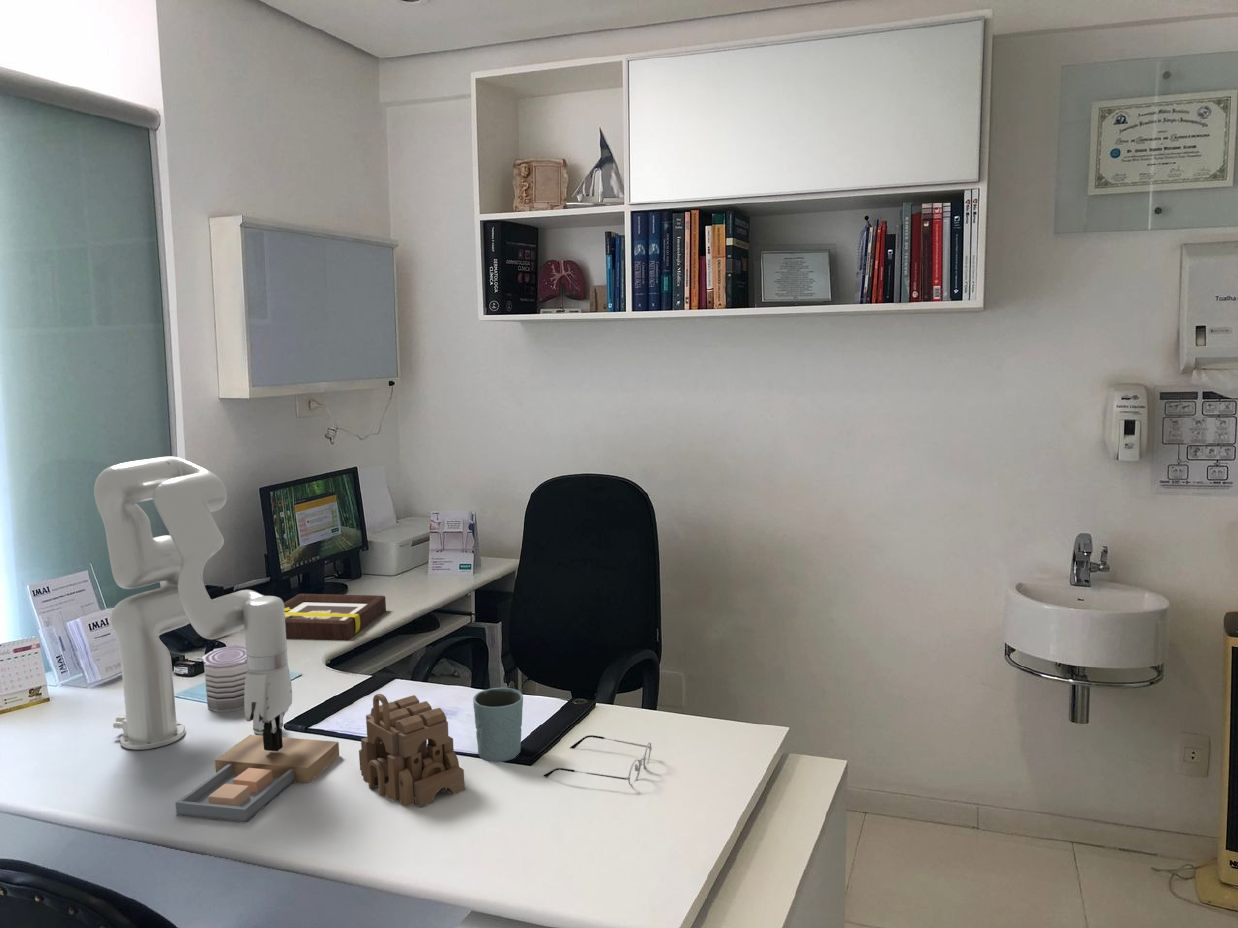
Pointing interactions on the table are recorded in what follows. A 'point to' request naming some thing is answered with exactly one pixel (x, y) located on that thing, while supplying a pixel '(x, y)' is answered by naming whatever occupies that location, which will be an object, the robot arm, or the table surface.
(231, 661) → the can
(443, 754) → the wooden puzzle
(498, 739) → the green cup
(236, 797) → the tile front
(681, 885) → the table surface
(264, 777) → the tile rear
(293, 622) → the picture frame
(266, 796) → the tray
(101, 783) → the table surface
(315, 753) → the board
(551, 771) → the eyeglasses
